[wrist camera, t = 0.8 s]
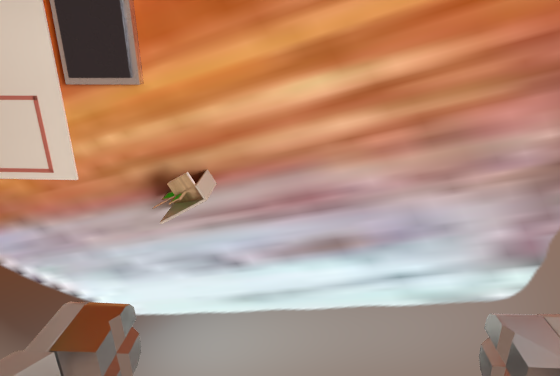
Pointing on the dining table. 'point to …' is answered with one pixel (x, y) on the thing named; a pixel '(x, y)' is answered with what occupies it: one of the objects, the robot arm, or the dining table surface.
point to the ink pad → (97, 41)
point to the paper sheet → (31, 98)
